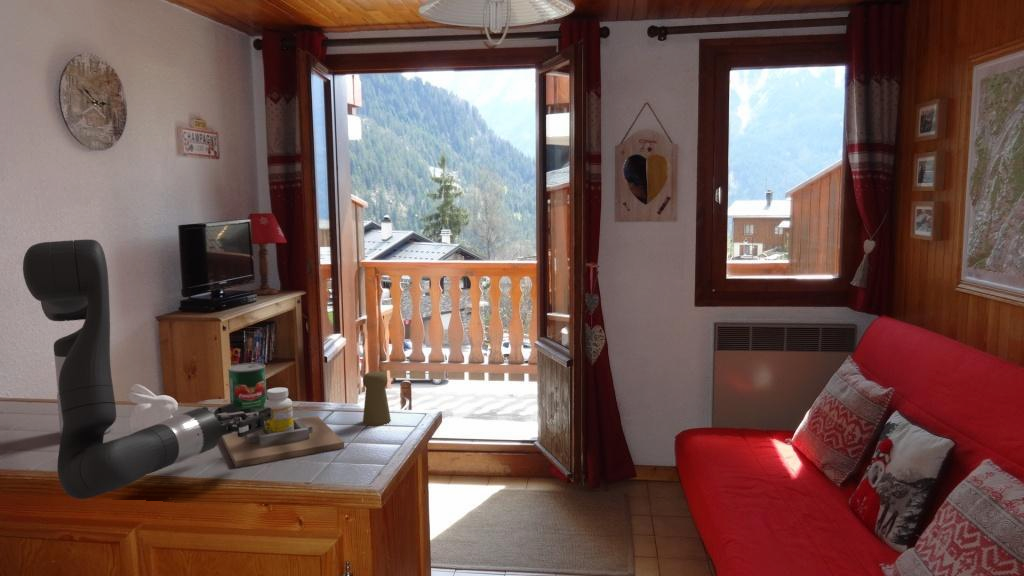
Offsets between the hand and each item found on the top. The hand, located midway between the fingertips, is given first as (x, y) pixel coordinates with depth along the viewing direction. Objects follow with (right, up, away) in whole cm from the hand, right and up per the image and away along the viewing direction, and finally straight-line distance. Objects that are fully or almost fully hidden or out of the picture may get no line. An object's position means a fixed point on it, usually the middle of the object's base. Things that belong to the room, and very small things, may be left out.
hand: (251, 410), depth 137 cm
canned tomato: (-10, -6, +28) cm, 30 cm away
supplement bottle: (+3, -7, +8) cm, 11 cm away
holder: (+3, -8, +8) cm, 12 cm away
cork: (+20, -6, +21) cm, 29 cm away
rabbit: (-24, -8, +11) cm, 27 cm away
